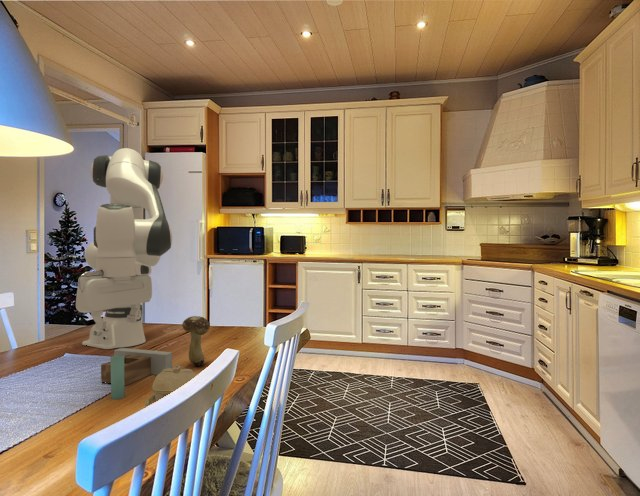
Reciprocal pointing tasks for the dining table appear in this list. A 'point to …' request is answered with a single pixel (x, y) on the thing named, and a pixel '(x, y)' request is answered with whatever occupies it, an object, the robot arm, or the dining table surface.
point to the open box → (129, 369)
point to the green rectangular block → (117, 377)
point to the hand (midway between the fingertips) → (117, 325)
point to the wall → (158, 358)
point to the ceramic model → (169, 382)
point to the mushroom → (196, 337)
